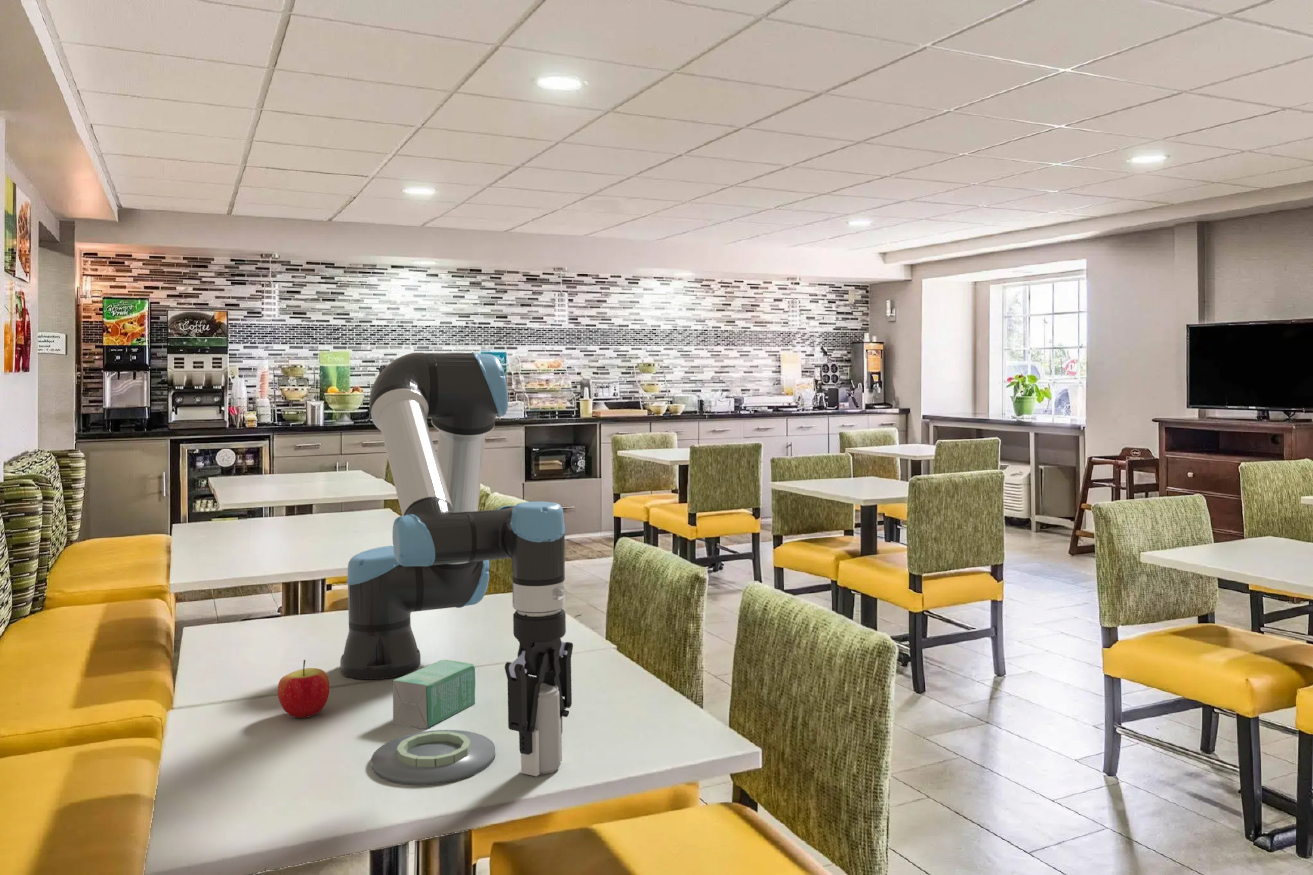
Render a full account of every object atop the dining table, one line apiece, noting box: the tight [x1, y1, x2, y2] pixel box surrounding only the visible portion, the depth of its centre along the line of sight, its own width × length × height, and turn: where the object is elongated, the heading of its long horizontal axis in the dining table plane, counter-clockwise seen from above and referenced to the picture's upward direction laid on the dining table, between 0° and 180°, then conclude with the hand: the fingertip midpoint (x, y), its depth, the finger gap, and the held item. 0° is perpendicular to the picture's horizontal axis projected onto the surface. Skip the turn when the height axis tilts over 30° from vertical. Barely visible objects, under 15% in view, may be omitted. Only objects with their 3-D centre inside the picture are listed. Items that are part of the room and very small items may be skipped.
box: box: [392, 659, 476, 730], centre depth 162 cm, size 7×14×8 cm, turn 155°
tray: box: [371, 729, 496, 786], centre depth 143 cm, size 18×18×2 cm
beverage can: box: [527, 683, 561, 775], centre depth 139 cm, size 5×5×12 cm
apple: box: [277, 659, 331, 719], centre depth 161 cm, size 8×8×10 cm
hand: (541, 766), depth 139 cm, fingers closed on beverage can, 5 cm apart
